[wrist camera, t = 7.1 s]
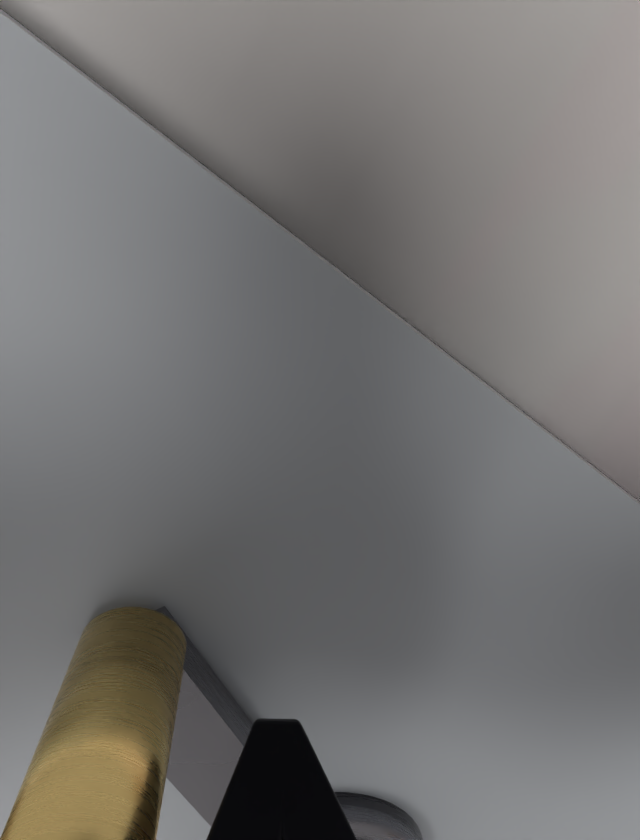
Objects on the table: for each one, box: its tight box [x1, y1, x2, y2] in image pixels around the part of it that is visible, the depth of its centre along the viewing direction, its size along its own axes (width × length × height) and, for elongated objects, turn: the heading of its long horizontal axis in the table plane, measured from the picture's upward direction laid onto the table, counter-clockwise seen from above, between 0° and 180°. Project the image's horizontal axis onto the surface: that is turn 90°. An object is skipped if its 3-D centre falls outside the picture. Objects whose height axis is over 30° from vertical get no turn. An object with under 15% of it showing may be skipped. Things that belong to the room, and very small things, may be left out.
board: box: [0, 9, 640, 840], centre depth 12 cm, size 26×24×1 cm
